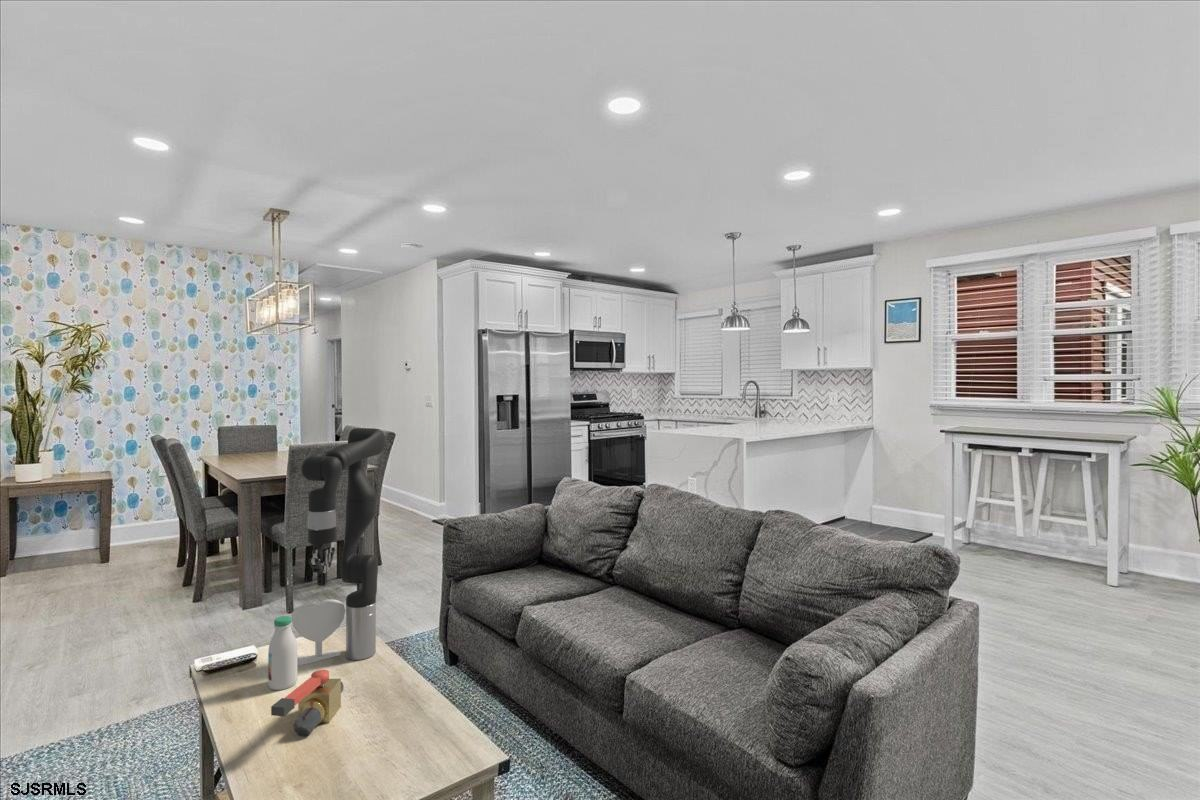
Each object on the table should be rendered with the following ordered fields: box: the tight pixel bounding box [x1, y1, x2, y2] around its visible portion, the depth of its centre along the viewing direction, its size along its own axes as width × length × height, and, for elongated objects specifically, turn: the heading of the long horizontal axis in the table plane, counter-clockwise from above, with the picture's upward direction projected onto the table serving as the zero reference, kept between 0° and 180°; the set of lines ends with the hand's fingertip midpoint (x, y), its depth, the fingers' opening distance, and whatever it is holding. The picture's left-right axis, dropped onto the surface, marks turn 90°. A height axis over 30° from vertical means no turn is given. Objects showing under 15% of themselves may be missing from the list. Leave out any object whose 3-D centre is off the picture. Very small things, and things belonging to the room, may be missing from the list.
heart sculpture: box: [291, 599, 346, 666], centre depth 199 cm, size 16×5×18 cm, turn 128°
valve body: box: [293, 678, 345, 737], centre depth 165 cm, size 20×8×9 cm, turn 2°
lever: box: [270, 669, 330, 717], centre depth 157 cm, size 20×4×2 cm, turn 172°
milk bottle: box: [267, 615, 298, 691], centre depth 181 cm, size 8×8×20 cm
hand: (322, 584), depth 175 cm, fingers closed
